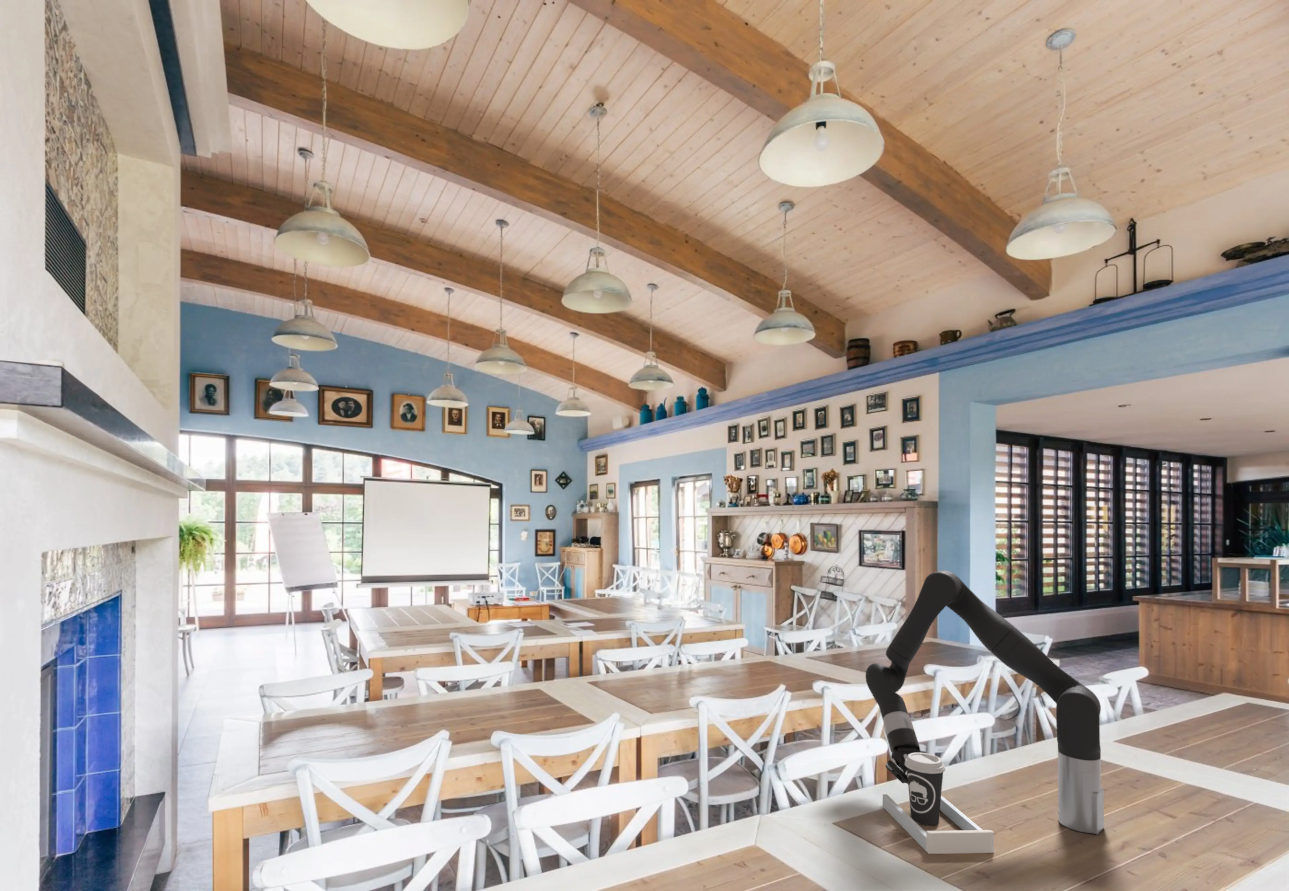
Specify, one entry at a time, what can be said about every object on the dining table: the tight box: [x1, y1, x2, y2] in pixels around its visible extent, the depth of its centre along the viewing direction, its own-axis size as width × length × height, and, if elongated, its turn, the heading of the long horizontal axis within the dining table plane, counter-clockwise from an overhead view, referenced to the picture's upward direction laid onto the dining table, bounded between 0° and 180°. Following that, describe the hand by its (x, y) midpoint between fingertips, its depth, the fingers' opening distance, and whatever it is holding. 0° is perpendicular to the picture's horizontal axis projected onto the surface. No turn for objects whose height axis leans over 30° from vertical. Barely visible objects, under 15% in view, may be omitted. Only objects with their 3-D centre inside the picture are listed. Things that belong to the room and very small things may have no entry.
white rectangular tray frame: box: [881, 793, 995, 855], centre depth 179 cm, size 25×15×4 cm, turn 5°
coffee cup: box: [905, 752, 946, 826], centre depth 184 cm, size 10×10×15 cm
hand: (920, 798), depth 186 cm, fingers closed
